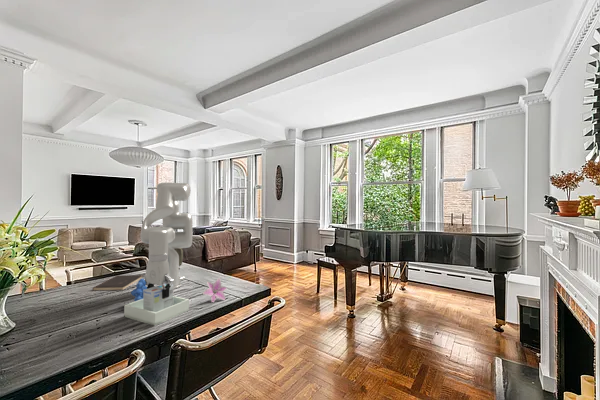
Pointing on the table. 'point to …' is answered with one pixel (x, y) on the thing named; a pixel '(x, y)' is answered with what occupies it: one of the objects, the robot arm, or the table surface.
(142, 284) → the grapes
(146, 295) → the light bulb box
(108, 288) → the hardcover book
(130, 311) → the bin
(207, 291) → the lily
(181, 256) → the tabletop clock
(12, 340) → the table surface
